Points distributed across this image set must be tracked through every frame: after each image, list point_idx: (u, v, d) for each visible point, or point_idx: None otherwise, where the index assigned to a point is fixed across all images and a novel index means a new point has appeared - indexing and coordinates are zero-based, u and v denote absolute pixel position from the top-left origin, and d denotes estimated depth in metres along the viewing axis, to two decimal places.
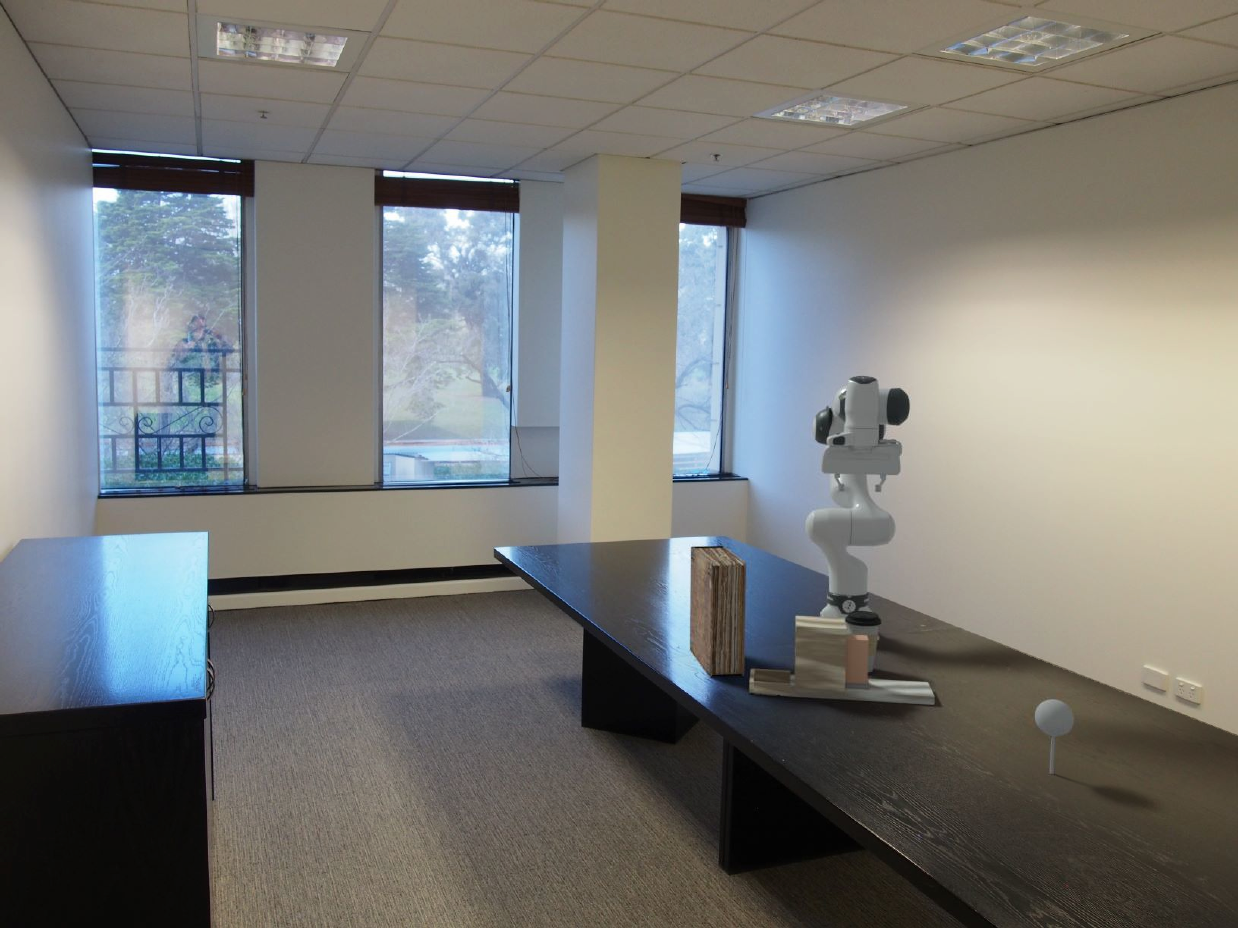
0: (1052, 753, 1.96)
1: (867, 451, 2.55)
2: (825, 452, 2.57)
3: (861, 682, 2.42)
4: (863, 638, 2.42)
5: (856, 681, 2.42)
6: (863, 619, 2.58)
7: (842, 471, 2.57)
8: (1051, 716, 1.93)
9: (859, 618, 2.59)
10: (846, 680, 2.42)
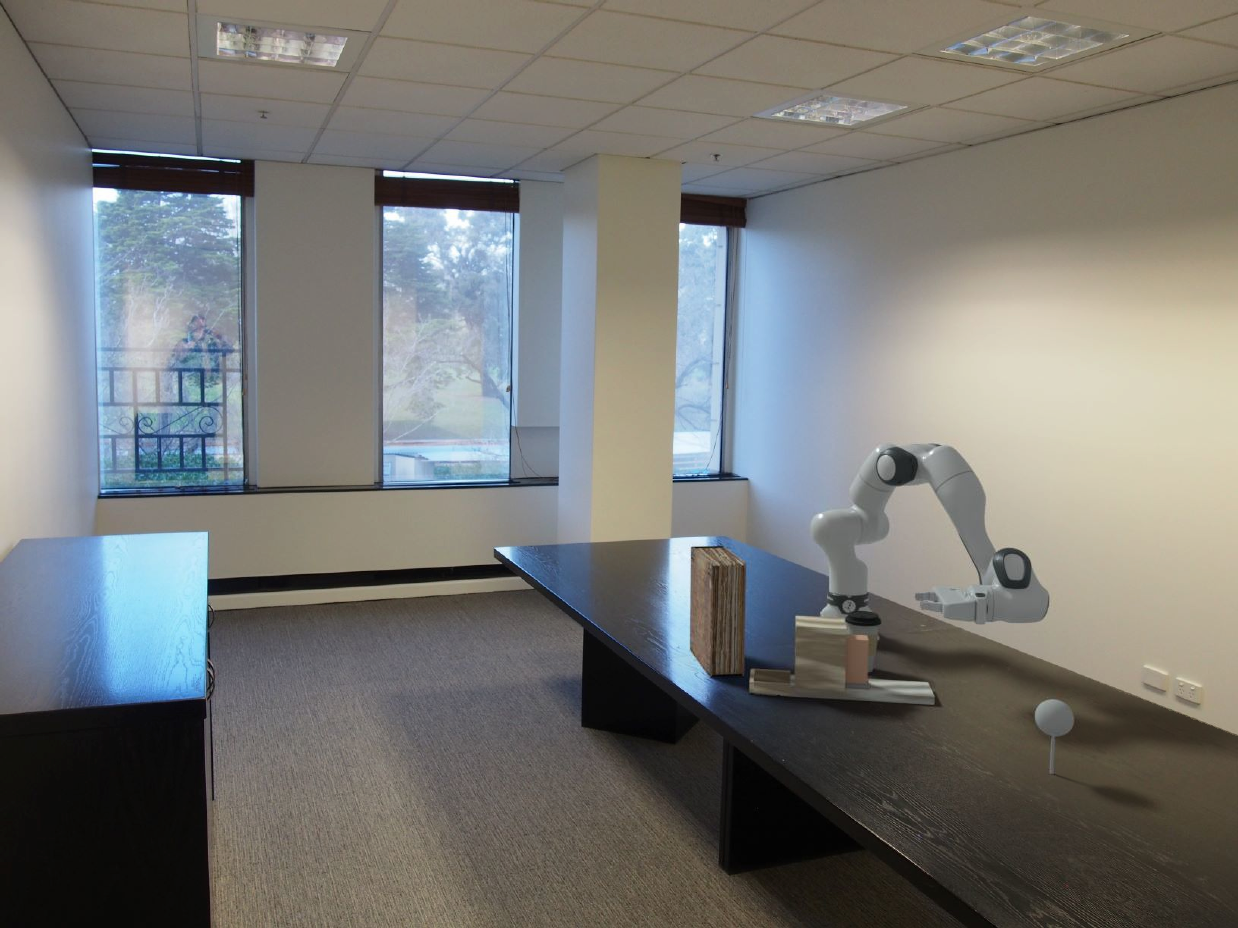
0: (1052, 753, 1.96)
1: None
2: (968, 621, 2.29)
3: (861, 682, 2.42)
4: (863, 638, 2.42)
5: (856, 681, 2.42)
6: (863, 619, 2.58)
7: None
8: (1051, 716, 1.93)
9: (859, 618, 2.59)
10: (846, 680, 2.42)
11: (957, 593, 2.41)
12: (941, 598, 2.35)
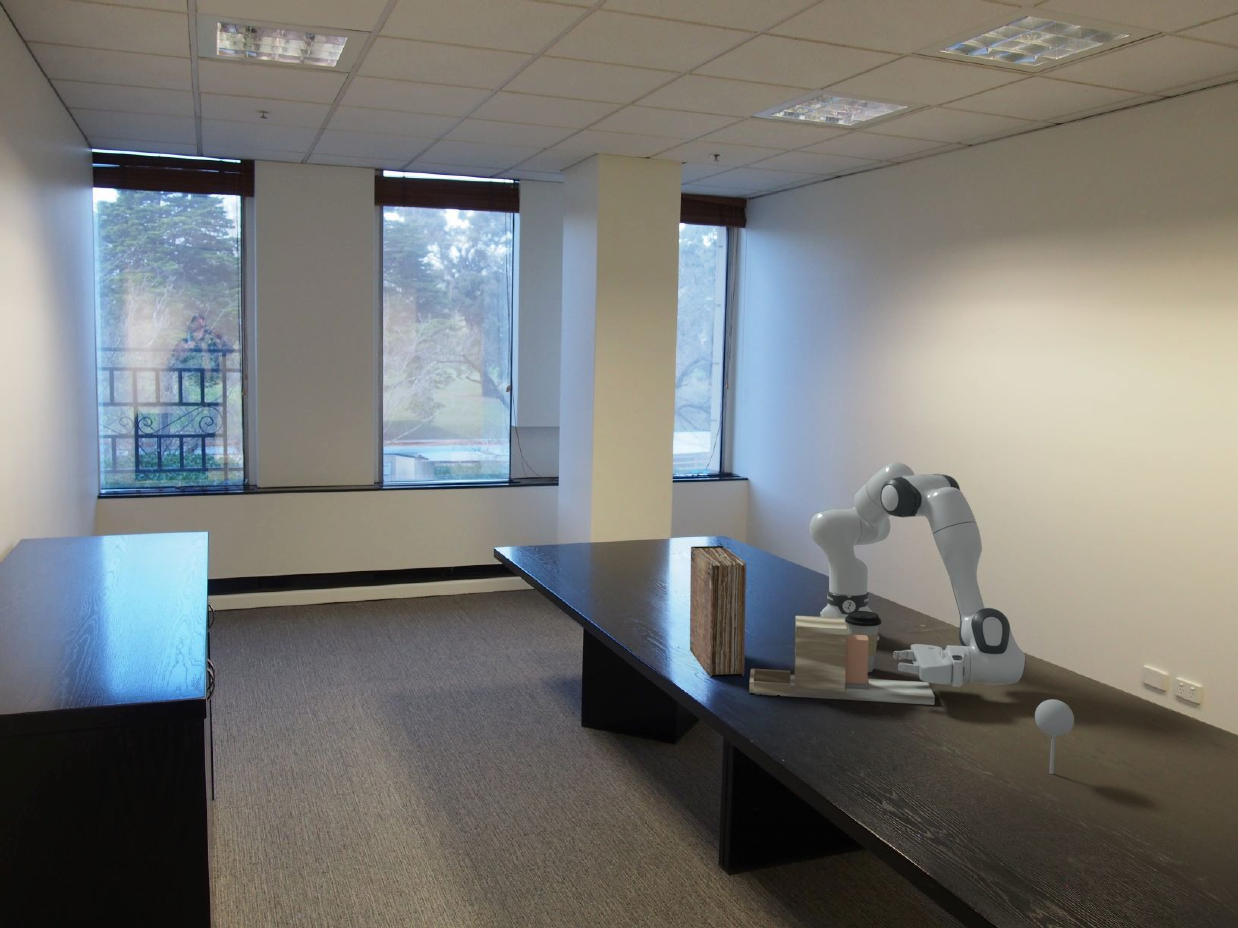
0: (1052, 753, 1.96)
1: None
2: None
3: (861, 682, 2.42)
4: (863, 638, 2.42)
5: (856, 681, 2.42)
6: (863, 619, 2.58)
7: None
8: (1051, 716, 1.93)
9: (859, 618, 2.59)
10: (846, 680, 2.42)
11: (935, 653, 2.44)
12: (918, 659, 2.37)
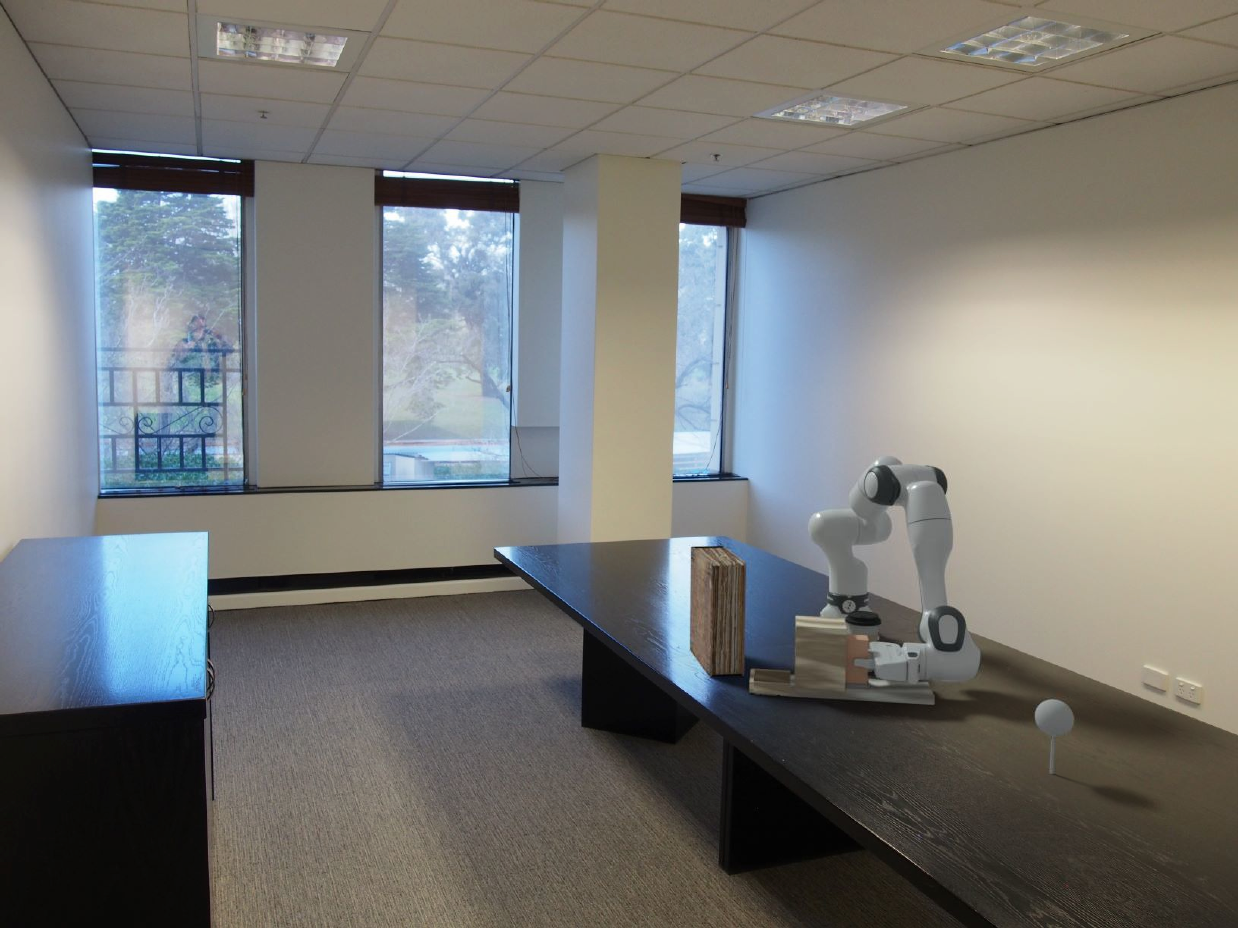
0: (1052, 753, 1.96)
1: None
2: None
3: (861, 682, 2.42)
4: (863, 638, 2.42)
5: (856, 681, 2.42)
6: (863, 619, 2.58)
7: None
8: (1051, 716, 1.93)
9: (859, 618, 2.59)
10: (846, 680, 2.42)
11: (892, 650, 2.45)
12: (875, 657, 2.39)
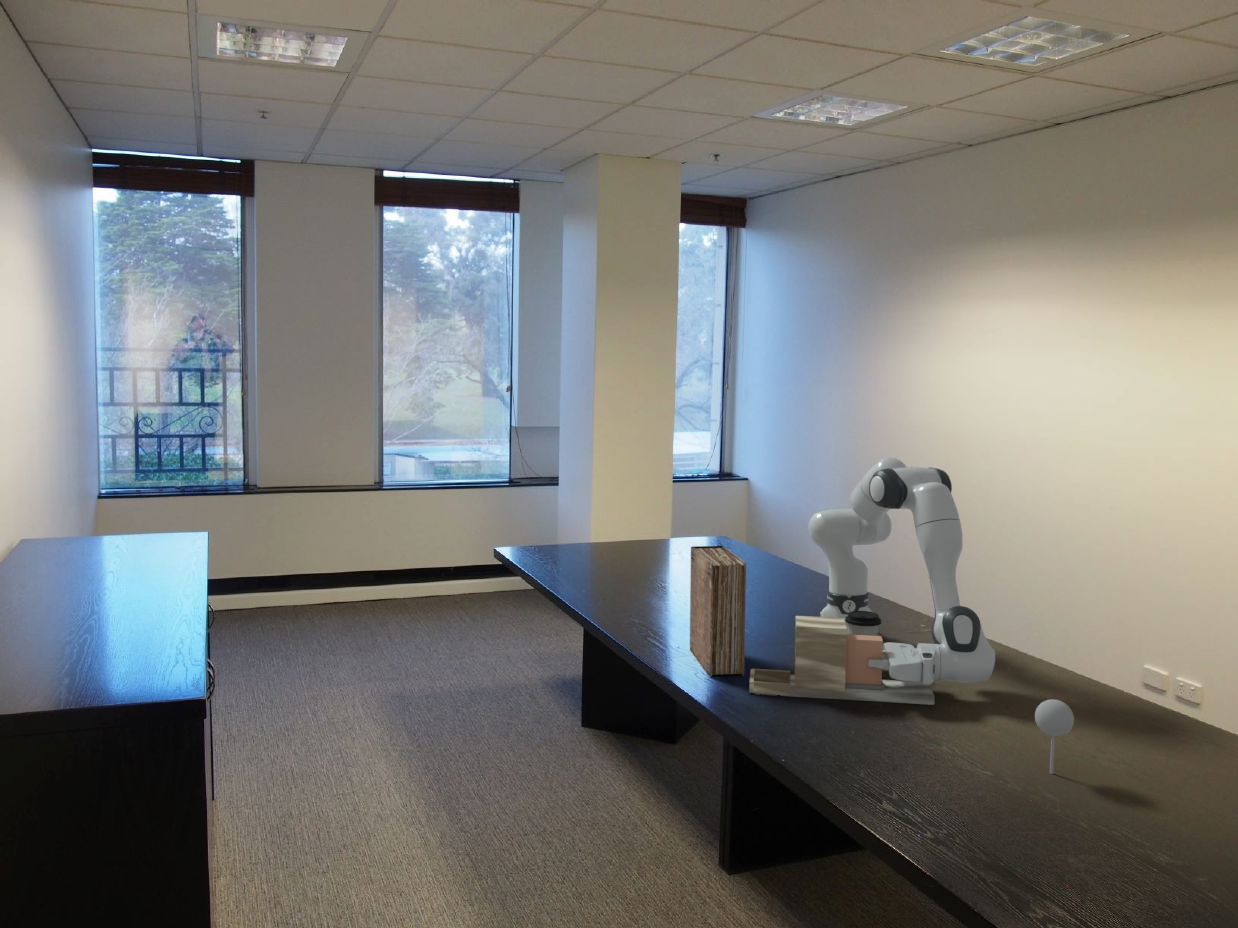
0: (1052, 753, 1.96)
1: None
2: (914, 681, 2.33)
3: (875, 683, 2.41)
4: (877, 638, 2.42)
5: (870, 682, 2.41)
6: (863, 619, 2.58)
7: None
8: (1051, 716, 1.93)
9: (859, 618, 2.59)
10: (860, 681, 2.42)
11: (906, 651, 2.44)
12: (889, 657, 2.38)
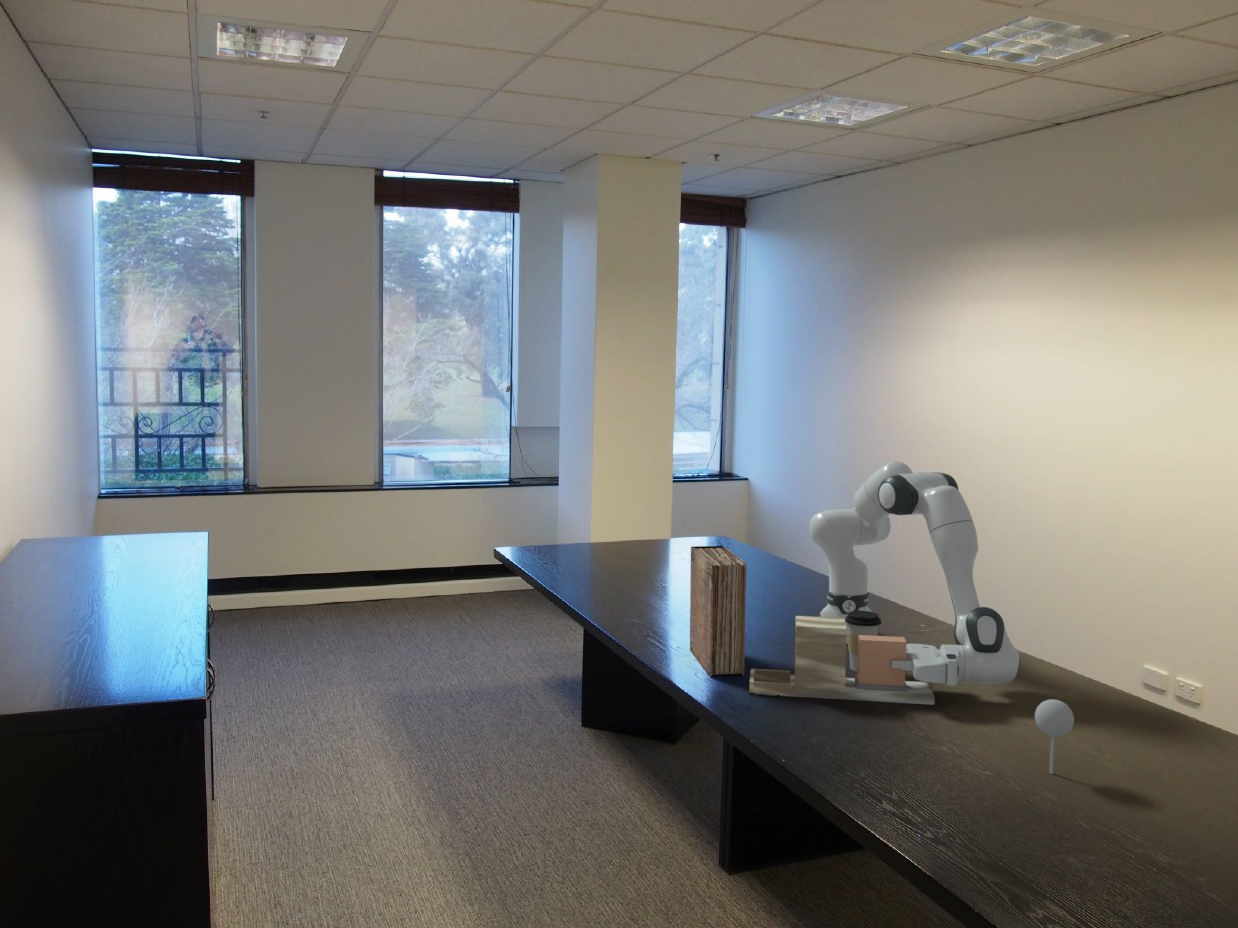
0: (1052, 753, 1.96)
1: None
2: None
3: (899, 684, 2.40)
4: (901, 639, 2.41)
5: (894, 683, 2.41)
6: (863, 619, 2.58)
7: None
8: (1051, 716, 1.93)
9: (859, 618, 2.59)
10: (883, 682, 2.41)
11: (929, 652, 2.44)
12: (913, 658, 2.37)
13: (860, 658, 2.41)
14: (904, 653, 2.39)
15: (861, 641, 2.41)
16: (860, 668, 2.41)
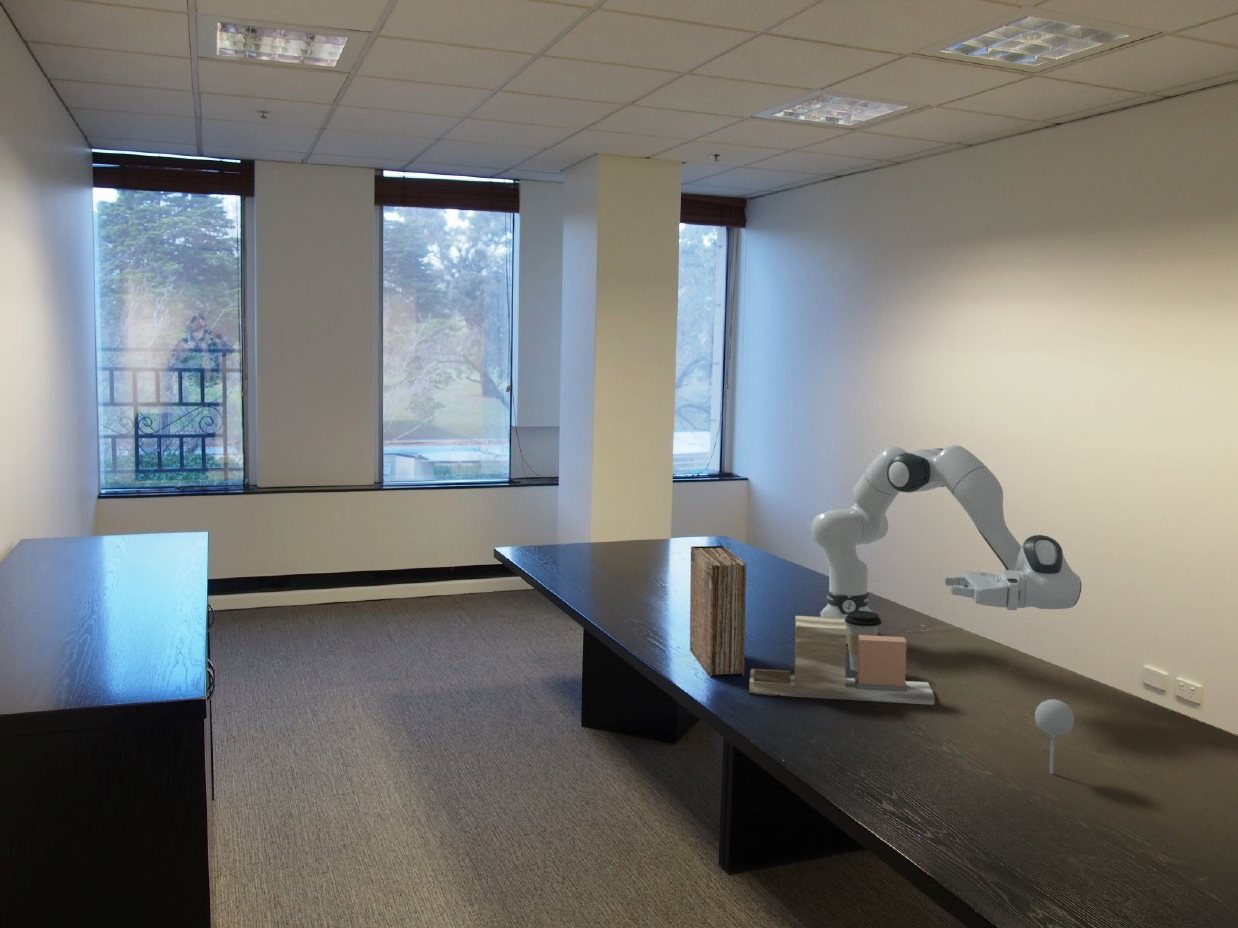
0: (1052, 753, 1.96)
1: None
2: (1000, 606, 2.28)
3: (899, 684, 2.40)
4: (901, 639, 2.41)
5: (894, 683, 2.40)
6: (863, 619, 2.58)
7: None
8: (1051, 716, 1.93)
9: (859, 618, 2.59)
10: (883, 682, 2.41)
11: (988, 578, 2.40)
12: (972, 583, 2.34)
13: (860, 658, 2.41)
14: (904, 653, 2.39)
15: (861, 641, 2.41)
16: (860, 668, 2.41)
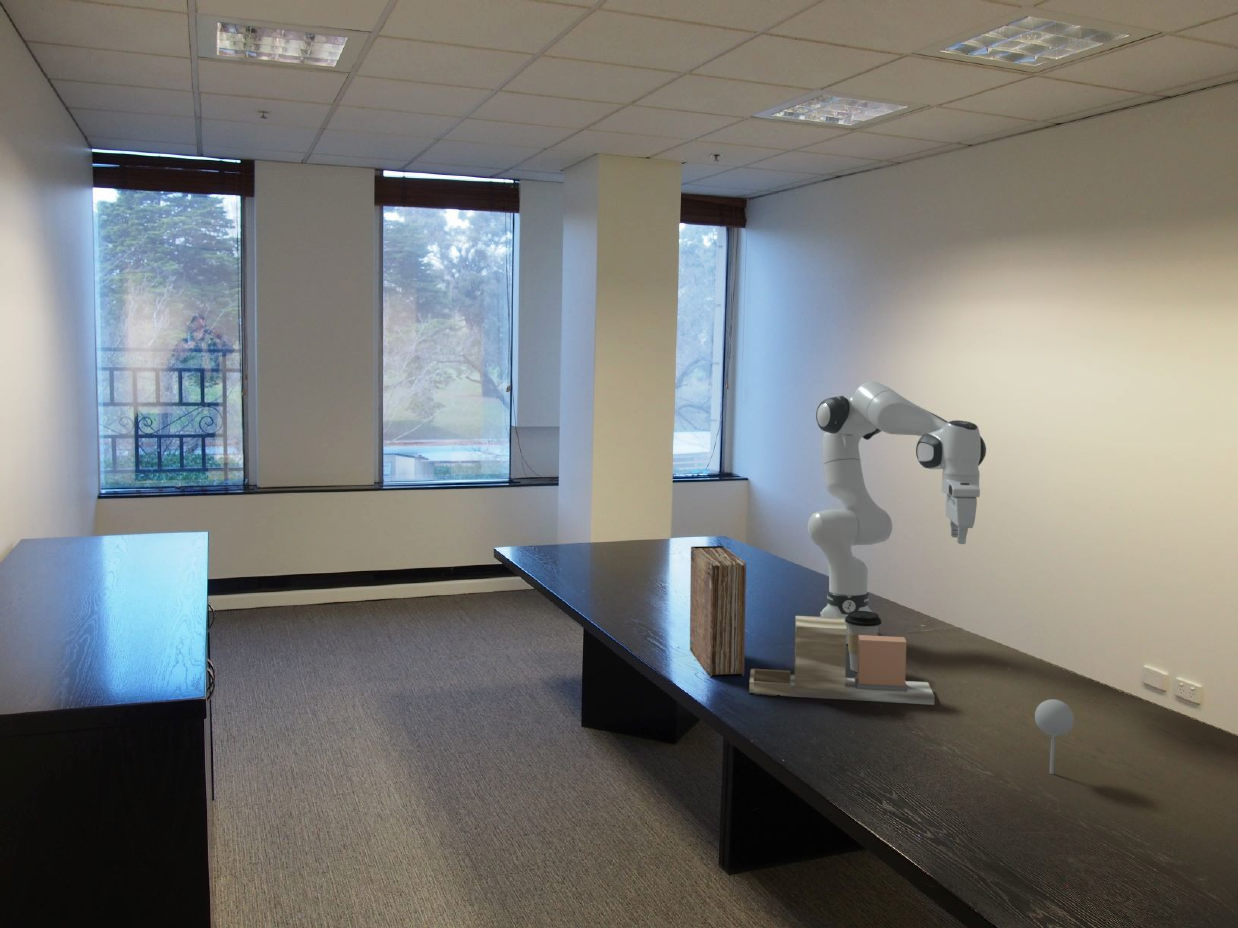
0: (1052, 753, 1.96)
1: None
2: (976, 505, 2.38)
3: (899, 684, 2.40)
4: (901, 639, 2.41)
5: (894, 683, 2.40)
6: (863, 619, 2.58)
7: None
8: (1051, 716, 1.93)
9: (859, 618, 2.59)
10: (883, 682, 2.41)
11: (951, 500, 2.51)
12: (954, 523, 2.44)
13: (860, 658, 2.41)
14: (904, 653, 2.39)
15: (861, 641, 2.41)
16: (860, 668, 2.41)
